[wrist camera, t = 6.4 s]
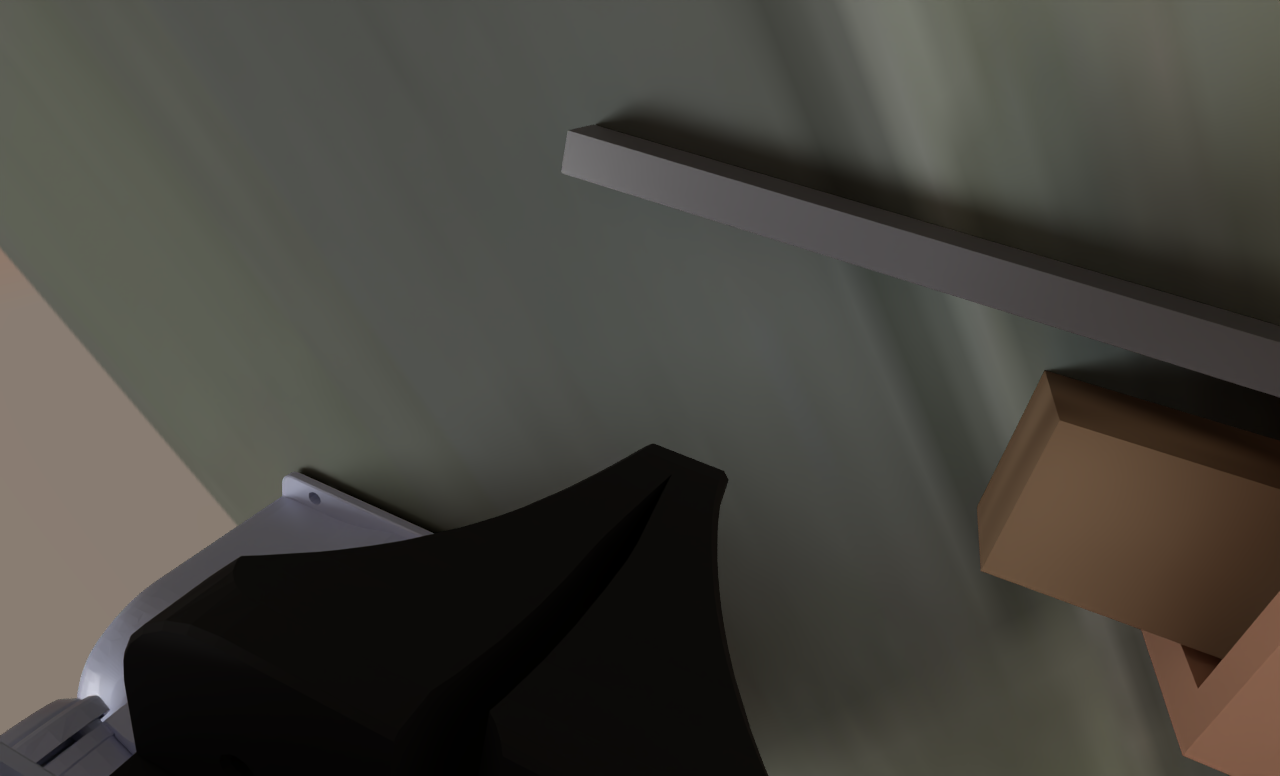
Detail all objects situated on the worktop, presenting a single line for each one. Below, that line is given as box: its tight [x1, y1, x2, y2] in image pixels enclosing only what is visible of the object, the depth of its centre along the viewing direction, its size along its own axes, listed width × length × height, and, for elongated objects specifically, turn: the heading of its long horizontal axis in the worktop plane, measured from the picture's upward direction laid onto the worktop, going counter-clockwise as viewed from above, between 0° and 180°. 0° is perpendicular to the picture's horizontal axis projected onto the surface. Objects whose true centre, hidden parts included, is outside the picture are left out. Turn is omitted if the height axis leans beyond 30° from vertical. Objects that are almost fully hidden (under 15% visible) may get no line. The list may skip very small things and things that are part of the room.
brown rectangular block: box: [977, 370, 1280, 659], centre depth 16 cm, size 8×4×3 cm, turn 79°
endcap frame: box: [561, 125, 1280, 776], centre depth 16 cm, size 21×8×4 cm, turn 77°
